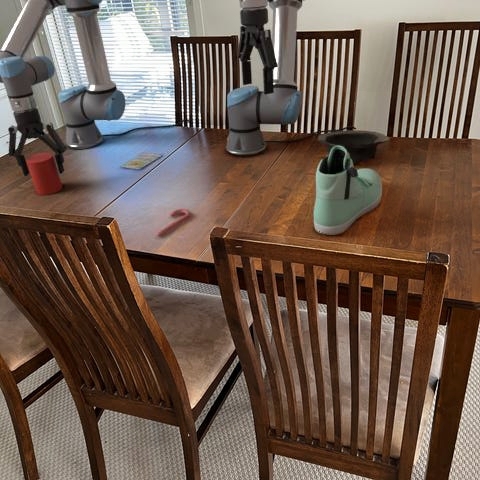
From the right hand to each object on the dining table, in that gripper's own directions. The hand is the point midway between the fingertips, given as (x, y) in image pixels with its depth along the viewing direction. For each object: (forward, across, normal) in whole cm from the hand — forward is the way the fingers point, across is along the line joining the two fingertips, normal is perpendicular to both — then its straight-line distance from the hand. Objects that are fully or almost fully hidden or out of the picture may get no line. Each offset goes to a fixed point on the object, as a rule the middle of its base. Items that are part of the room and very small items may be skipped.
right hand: (257, 88), depth 140 cm
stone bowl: (+31, -4, +38) cm, 50 cm away
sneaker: (+31, +27, +14) cm, 44 cm away
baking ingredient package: (+31, -45, -28) cm, 62 cm away
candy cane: (+31, +8, -34) cm, 47 cm away
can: (+31, -39, -63) cm, 80 cm away
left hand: (+25, -39, -63) cm, 78 cm away
